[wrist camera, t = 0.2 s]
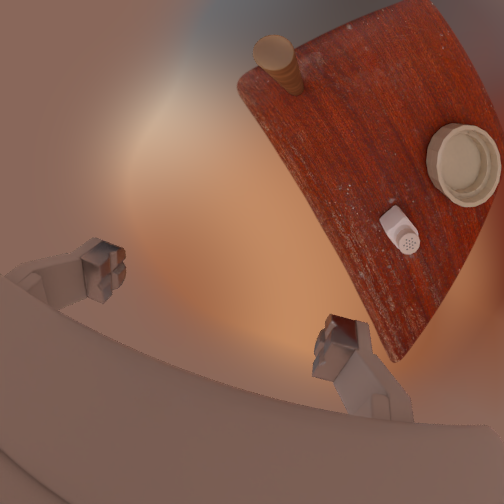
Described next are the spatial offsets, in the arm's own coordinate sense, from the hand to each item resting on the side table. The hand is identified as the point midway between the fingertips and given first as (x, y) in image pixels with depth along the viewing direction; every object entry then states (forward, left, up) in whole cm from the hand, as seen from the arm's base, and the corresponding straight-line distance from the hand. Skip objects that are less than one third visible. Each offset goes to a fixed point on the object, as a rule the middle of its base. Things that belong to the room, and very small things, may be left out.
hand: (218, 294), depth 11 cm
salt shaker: (+6, +19, -37) cm, 42 cm away
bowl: (-7, +27, -37) cm, 46 cm away
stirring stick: (-10, -1, -37) cm, 38 cm away
